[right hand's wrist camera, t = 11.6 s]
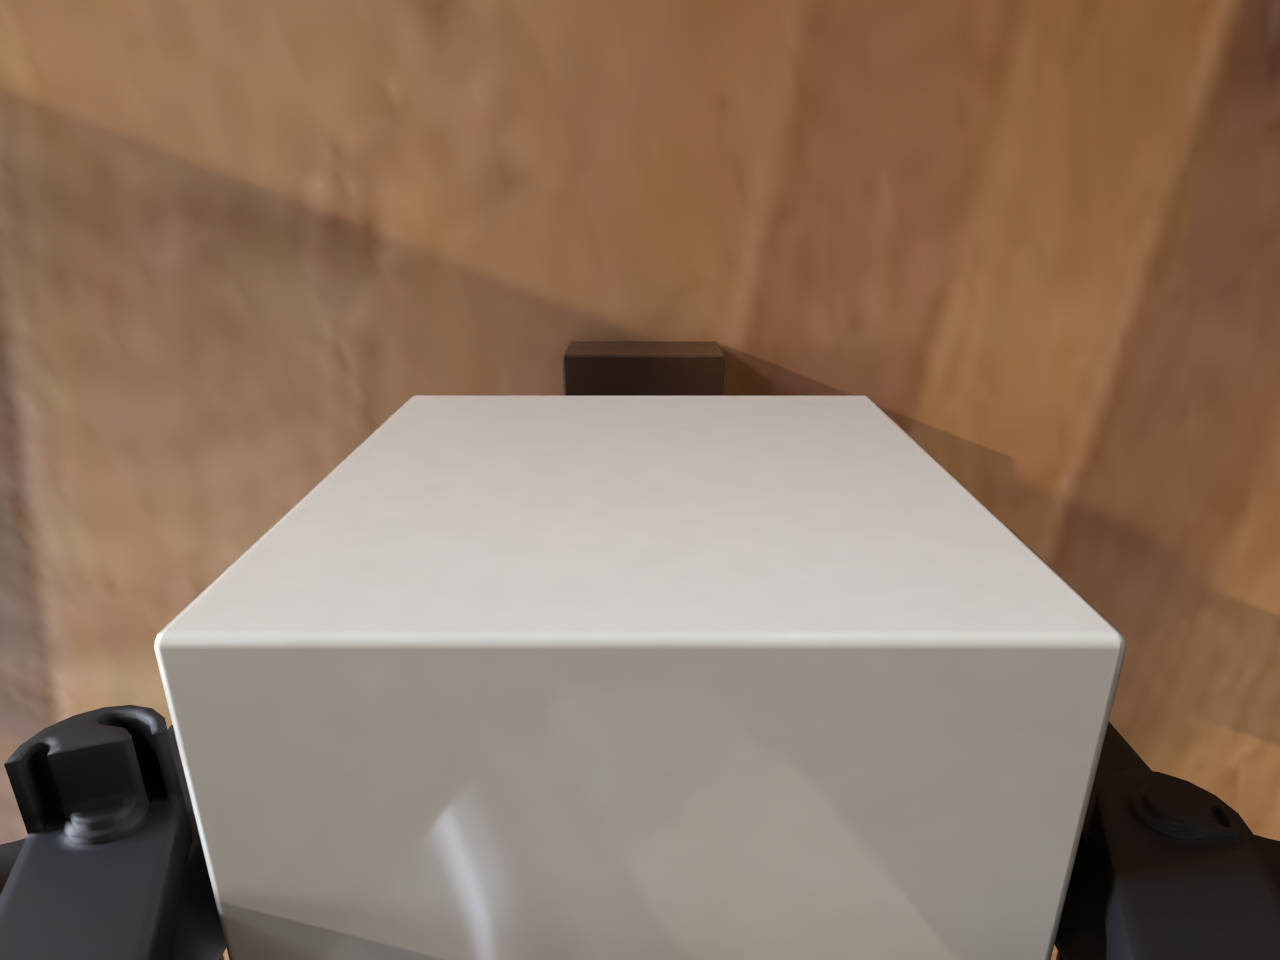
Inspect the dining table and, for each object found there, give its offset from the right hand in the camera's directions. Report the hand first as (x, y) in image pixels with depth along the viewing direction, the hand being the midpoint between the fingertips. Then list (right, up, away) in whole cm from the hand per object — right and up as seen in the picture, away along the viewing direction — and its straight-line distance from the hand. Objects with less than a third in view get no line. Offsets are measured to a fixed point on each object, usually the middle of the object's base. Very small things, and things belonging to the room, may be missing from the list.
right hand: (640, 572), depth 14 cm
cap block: (0, 0, -1) cm, 1 cm away
